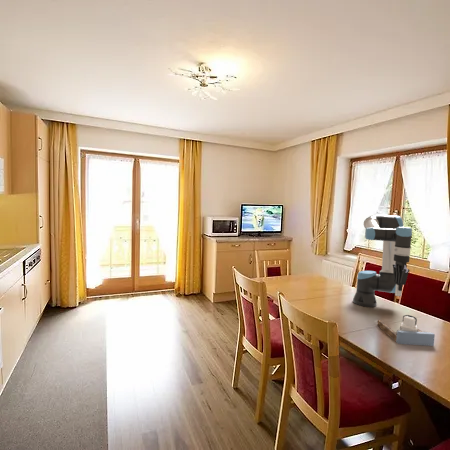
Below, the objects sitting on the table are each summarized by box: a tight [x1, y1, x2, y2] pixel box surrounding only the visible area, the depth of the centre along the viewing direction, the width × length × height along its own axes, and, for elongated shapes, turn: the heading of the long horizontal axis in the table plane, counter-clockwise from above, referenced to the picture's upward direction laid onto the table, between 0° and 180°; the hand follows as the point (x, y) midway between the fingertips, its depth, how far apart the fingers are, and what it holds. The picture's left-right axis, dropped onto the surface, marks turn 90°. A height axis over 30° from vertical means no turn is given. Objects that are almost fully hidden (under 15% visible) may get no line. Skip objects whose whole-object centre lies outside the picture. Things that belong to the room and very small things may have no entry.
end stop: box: [395, 329, 436, 347], centre depth 143 cm, size 2×17×6 cm, turn 87°
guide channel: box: [377, 319, 423, 342], centre depth 154 cm, size 20×17×3 cm
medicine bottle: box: [399, 314, 418, 332], centre depth 149 cm, size 7×7×12 cm
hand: (398, 295), depth 160 cm, fingers closed
